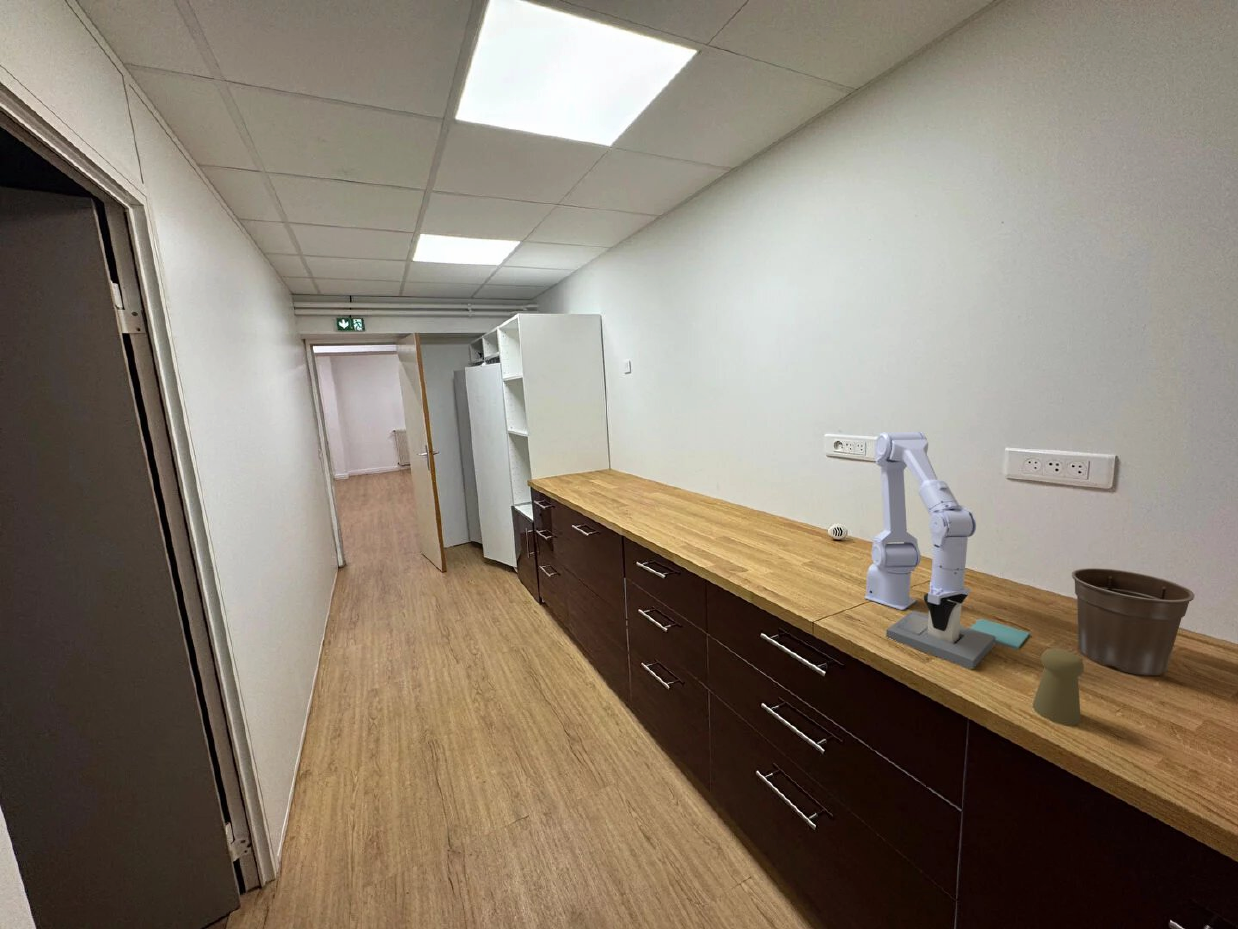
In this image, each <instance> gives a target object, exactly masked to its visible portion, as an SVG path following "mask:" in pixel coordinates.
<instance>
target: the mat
mask: <svg viewBox="0 0 1238 929" xmlns="http://www.w3.org/2000/svg"><path fill="white" fill-rule="evenodd" d="M969 628H971V629H974V630H977V631H980V632H983V633H987V634H990V635H993V636H996V638H995V643H997V644H1000V645H1004V646H1006V647H1009V648H1012V649H1016V650H1019V648H1020V647H1021V646H1022V645H1023V644H1024V642H1025V641H1026V640H1027V639H1028V638H1029V636H1030V632H1029V631H1024V630H1021V629H1018V628H1016V627H1012V626H1008V625H1005V624H1001V623H998V622H995V621H991V620H987V619H984V618H979V619H978V620H977V621H976V622H974V624H973V625H971V626H970V627H969Z"/></svg>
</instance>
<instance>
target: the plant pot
mask: <svg viewBox="0 0 1238 929" xmlns="http://www.w3.org/2000/svg"><path fill="white" fill-rule="evenodd" d="M1071 577H1072V579H1073V580H1074V594H1075V595H1076V598H1077V599H1076V600H1077V604H1076V605H1077V637H1078V638H1077V640H1078V642H1077V647H1078V649H1077V650H1078V651H1079V652H1080V653H1081V654H1082V655H1084V656H1085V657H1086V658H1088V659H1090V660H1091V661H1093V662H1095V663H1098V664H1099V665H1101V666H1104V667H1107V666H1110V667H1111V666H1112V667H1114V668H1116V669H1117V670H1119V672H1124V673H1129V674H1132V675H1139V676H1160V675H1164V674H1165V673H1166V671H1167V670H1168V669H1169V668H1168V667H1169V663H1170V659H1171V657H1172V653H1173V649H1174V646H1175V642H1176V638H1177V635H1178V633H1179V628H1180V625H1181V621H1182V618H1184V617H1185V616H1186V614H1187V610H1188V607H1189V605H1190V602H1192V601H1193V600H1194V599H1195V593H1194V592H1193V591H1192V590H1191V589H1189V588H1188V587H1185V586H1183V585H1180V584H1178V583H1176V582H1174V581H1170V580H1168V579H1164V578H1160V577H1156V576H1151V575H1147V574H1142V573H1139V572H1132V571H1127V570H1126V571H1125V570H1120V569H1112V568H1097V567H1095V568H1093V567H1091V568H1080V569H1075V570H1073V571H1072V572H1071Z"/></svg>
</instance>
